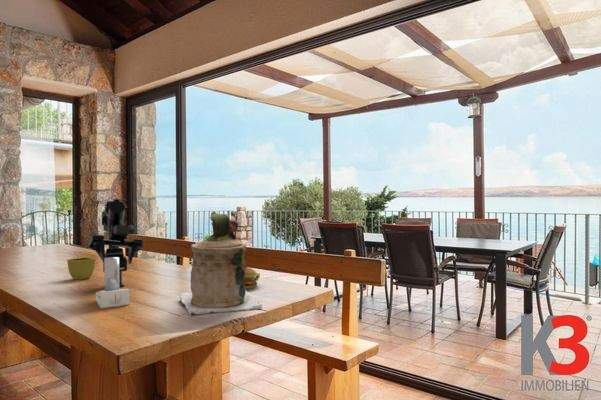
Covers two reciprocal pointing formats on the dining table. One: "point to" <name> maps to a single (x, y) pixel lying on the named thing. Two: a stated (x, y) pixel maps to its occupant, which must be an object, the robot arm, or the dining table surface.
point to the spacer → (111, 273)
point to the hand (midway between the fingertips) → (117, 262)
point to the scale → (113, 298)
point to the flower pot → (81, 267)
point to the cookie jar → (219, 272)
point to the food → (250, 278)
